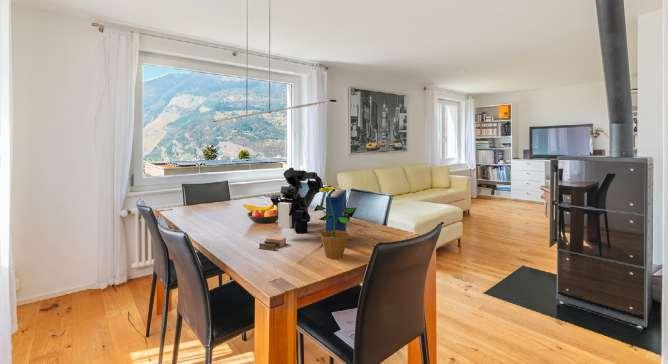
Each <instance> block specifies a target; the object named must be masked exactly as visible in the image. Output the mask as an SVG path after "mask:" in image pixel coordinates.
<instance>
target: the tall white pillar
mask: <svg viewBox="0 0 668 364" xmlns="http://www.w3.org/2000/svg"><path fill="white" fill-rule="evenodd" d="M290 210H291V203H285V202H283V203H282V202H280V203H278V219H277V221H278V225H277V227H278V228H285V229H290V228H291V227H292V215H291V216H289V212H290Z"/></svg>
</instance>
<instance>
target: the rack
mask: <svg viewBox="0 0 668 364" xmlns="http://www.w3.org/2000/svg"><path fill="white" fill-rule="evenodd" d="M287 245H288V243H286V244H285V245H284V246H282V247H280V242H273V241H266V240H264V243H263V242H260V243H259V247H258V248H257V250H262V251H271V252H277V251H278V250H280V249H281V248H283V247H285V246H287Z"/></svg>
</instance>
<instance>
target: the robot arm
mask: <svg viewBox="0 0 668 364" xmlns="http://www.w3.org/2000/svg"><path fill="white" fill-rule="evenodd" d="M283 177H284V179H285V181H286V183H287V184H289V185H288V186H281V187H280V194H282V197H283V198H282V197H280V195H279V194H278V195H277V194H273V195H271V196H270V198H269V200H270V201H271V202H272V204H273V206H277V207H276V212H277V213H276V215H278V203H280V202H282V203H293V204H292V207H291V210H290V212H289V216H291V215H292V220H293V221H295V224H294V229H293V230H294V232H295V234H308V233H309V230H308V226H309V225H308V223H309V222H310V221H311V215H310V213H309V210H308V209H309V208H310V206H311V204H312V202H313V200H314V199H315V196H316V194H319V193H320V191H317V190H318V189H320V188H321V187H324V183H323V181H322V180H323V179H322V178H321V177H320V176H318V173H317V172H316V171H315V172H314V171H308V172H307V171H306V170H304V169H303V170H301V169H294V167H289V168H288V169H286V170H285V171H284V172H283ZM306 181H307V182H306ZM302 182H306V184H307V188H308V190H307V191H306V194H305V195H304V196H301V197H298V196H299V195H298V192H299V193H300V189H303V186H302ZM296 198H297V199H296Z"/></svg>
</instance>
